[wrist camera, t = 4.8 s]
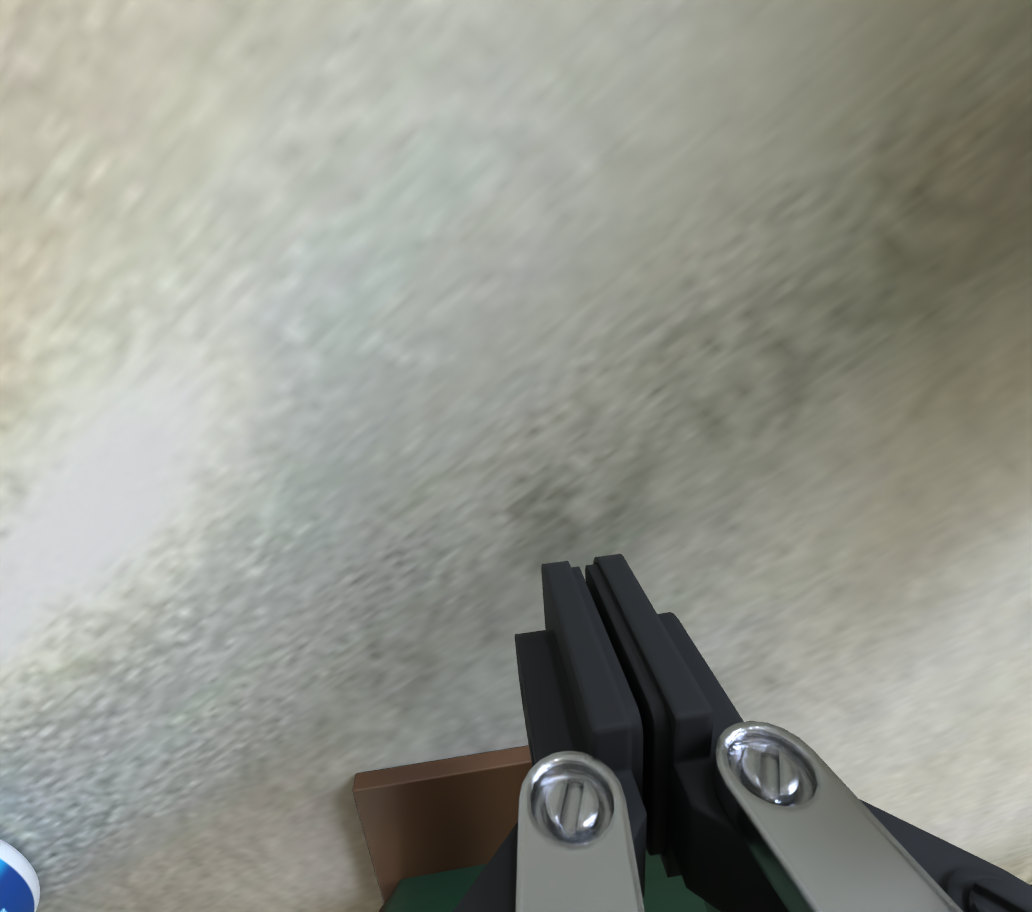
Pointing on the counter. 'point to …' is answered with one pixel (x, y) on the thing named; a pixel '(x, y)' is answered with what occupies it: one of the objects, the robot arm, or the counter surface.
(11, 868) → the beverage bottle
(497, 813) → the bookend
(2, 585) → the counter surface
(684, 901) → the book
